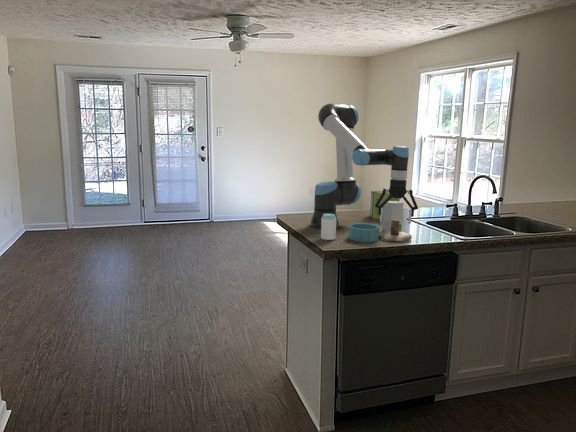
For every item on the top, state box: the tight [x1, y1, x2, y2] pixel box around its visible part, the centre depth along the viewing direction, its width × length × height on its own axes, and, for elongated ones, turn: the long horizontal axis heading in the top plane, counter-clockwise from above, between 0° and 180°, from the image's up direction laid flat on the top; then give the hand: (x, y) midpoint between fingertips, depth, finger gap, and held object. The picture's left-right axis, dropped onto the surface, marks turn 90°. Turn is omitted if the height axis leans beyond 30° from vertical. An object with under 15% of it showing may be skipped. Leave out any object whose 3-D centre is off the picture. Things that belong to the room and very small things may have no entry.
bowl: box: [348, 222, 380, 243], centre depth 229 cm, size 14×14×6 cm
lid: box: [379, 220, 413, 242], centre depth 231 cm, size 16×16×8 cm
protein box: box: [369, 190, 401, 220], centre depth 282 cm, size 10×15×16 cm
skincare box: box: [381, 201, 404, 232], centre depth 245 cm, size 8×7×16 cm
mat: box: [379, 238, 412, 243], centre depth 232 cm, size 14×14×1 cm
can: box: [320, 214, 337, 241], centre depth 226 cm, size 7×7×12 cm
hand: (395, 222), depth 231 cm, fingers open, 13 cm apart
